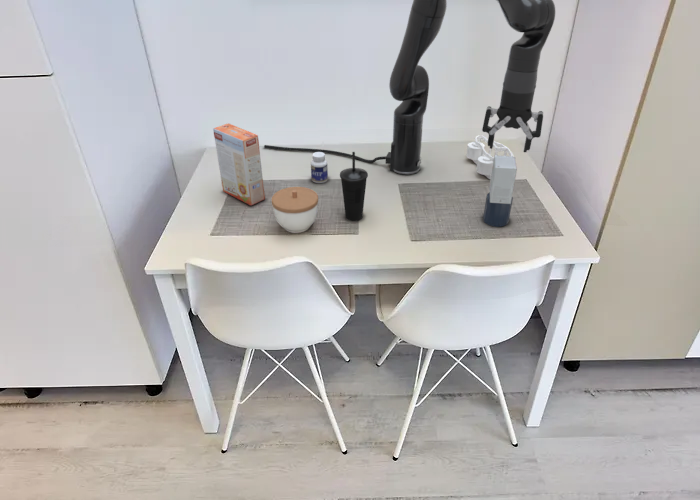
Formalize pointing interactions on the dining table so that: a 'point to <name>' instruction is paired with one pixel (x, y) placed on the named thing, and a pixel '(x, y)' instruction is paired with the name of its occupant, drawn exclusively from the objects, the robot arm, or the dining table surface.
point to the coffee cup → (496, 213)
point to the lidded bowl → (295, 208)
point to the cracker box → (239, 163)
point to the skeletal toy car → (478, 151)
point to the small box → (502, 179)
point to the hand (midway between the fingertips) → (507, 149)
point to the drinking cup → (353, 191)
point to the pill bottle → (319, 168)
